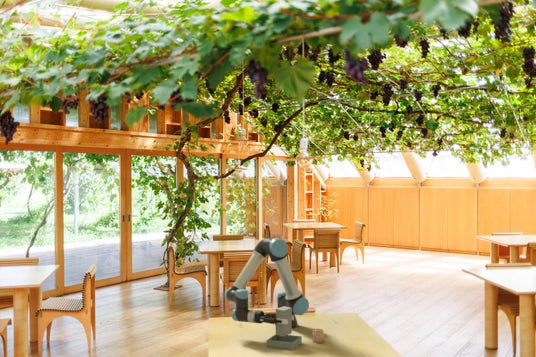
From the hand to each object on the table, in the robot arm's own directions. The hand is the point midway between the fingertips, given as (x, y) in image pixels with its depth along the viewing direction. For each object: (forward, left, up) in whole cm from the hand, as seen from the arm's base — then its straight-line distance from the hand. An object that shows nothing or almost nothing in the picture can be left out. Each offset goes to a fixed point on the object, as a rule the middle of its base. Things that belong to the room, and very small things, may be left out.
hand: (290, 319), depth 300 cm
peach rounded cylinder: (+13, +13, -15) cm, 24 cm away
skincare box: (-4, 0, -9) cm, 10 cm away
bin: (-4, 0, -15) cm, 16 cm away
